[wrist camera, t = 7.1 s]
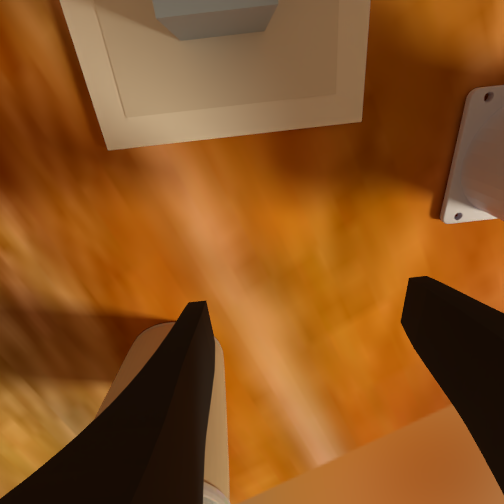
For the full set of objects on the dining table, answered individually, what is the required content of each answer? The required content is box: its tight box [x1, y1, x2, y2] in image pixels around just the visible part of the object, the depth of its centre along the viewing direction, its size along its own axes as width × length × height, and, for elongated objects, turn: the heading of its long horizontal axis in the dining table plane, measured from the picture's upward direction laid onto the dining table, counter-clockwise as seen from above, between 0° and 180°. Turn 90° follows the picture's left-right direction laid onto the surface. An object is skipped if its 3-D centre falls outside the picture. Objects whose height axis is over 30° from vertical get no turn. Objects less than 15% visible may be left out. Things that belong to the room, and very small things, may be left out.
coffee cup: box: [94, 322, 230, 504], centre depth 20 cm, size 9×9×12 cm
